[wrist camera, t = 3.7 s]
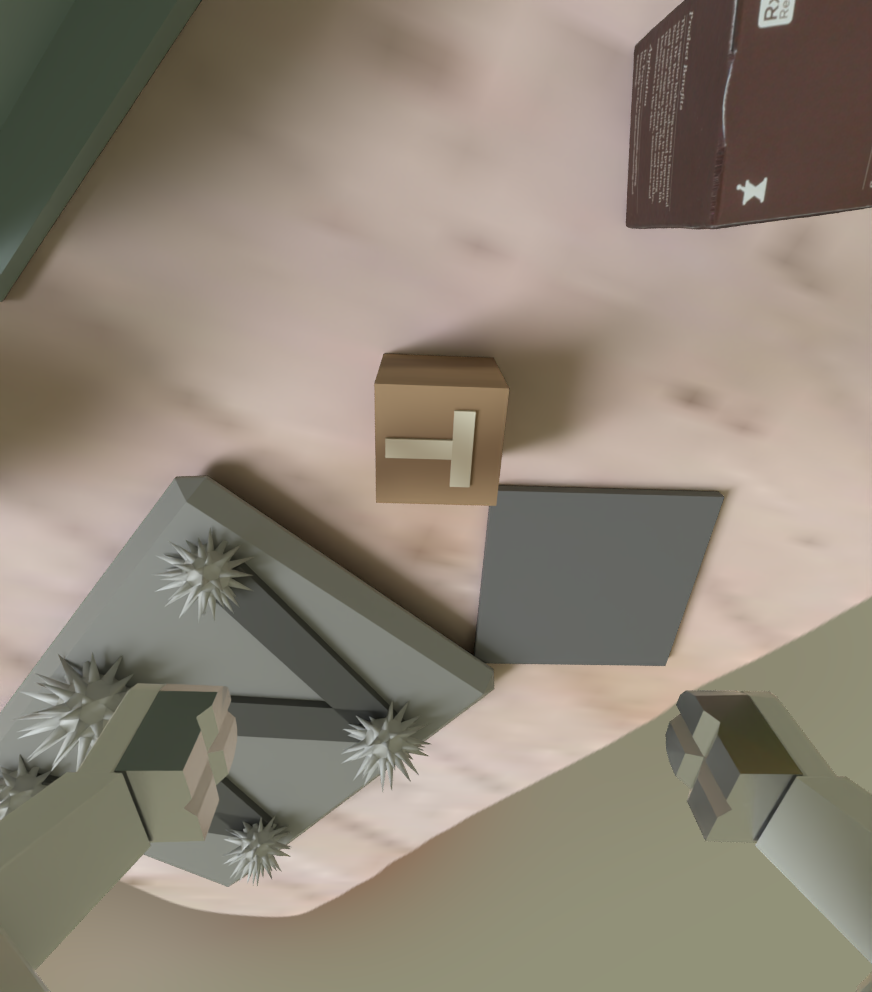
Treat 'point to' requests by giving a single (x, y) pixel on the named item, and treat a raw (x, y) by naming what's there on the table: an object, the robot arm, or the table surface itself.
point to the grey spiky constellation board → (242, 674)
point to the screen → (67, 101)
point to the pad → (589, 573)
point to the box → (751, 114)
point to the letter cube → (439, 429)
